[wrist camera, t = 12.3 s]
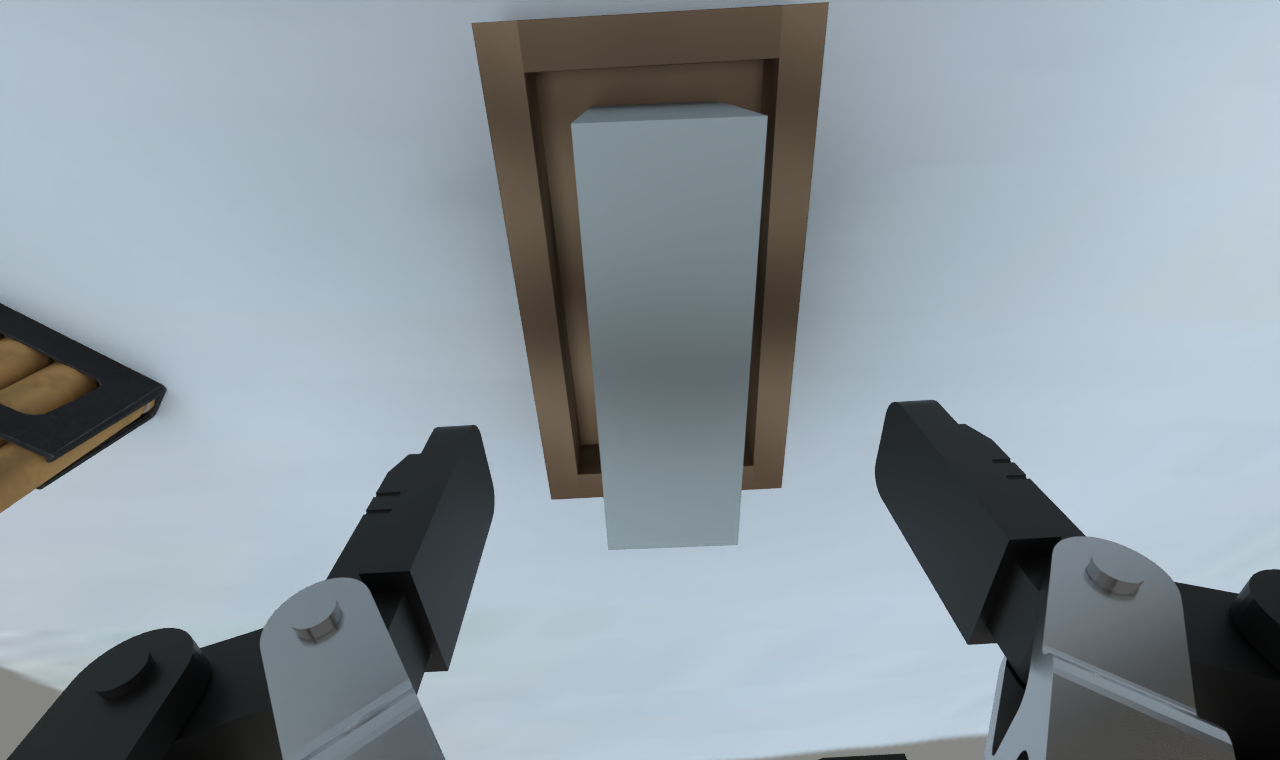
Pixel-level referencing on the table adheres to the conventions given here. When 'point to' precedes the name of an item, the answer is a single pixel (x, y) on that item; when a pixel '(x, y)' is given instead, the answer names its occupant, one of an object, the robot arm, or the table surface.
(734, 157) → the long grey rectangular block
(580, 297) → the cradle jig
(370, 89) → the table surface
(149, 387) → the ammunition clip
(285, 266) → the table surface
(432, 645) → the robot arm
